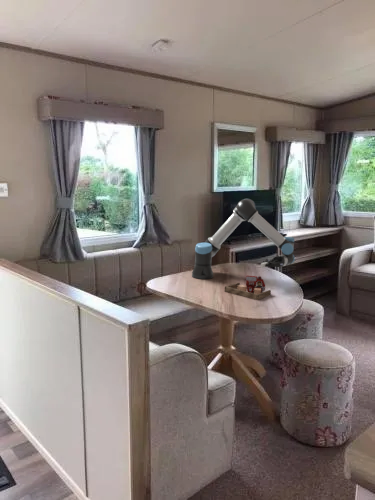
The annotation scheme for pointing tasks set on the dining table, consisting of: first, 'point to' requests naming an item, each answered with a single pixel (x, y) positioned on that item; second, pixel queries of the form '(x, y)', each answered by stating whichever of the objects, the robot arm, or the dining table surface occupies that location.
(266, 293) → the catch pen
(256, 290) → the tan cube
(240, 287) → the light brown cube
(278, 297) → the dining table surface
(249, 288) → the toy fire truck
